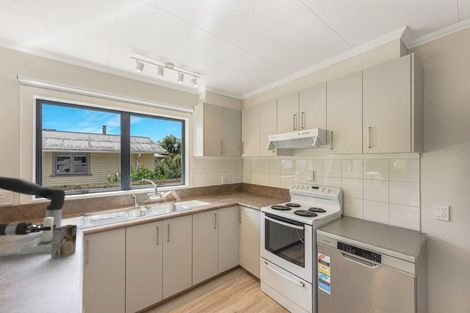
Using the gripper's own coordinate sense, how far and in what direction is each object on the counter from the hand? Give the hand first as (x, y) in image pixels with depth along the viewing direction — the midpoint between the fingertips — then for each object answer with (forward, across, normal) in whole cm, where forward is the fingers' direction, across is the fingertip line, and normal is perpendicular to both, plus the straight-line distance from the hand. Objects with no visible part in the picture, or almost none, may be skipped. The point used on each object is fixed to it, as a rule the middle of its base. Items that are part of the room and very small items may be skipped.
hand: (53, 227), depth 127 cm
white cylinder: (-3, 0, +8) cm, 8 cm away
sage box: (-2, 0, +12) cm, 13 cm away
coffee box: (+13, -15, +12) cm, 23 cm away
